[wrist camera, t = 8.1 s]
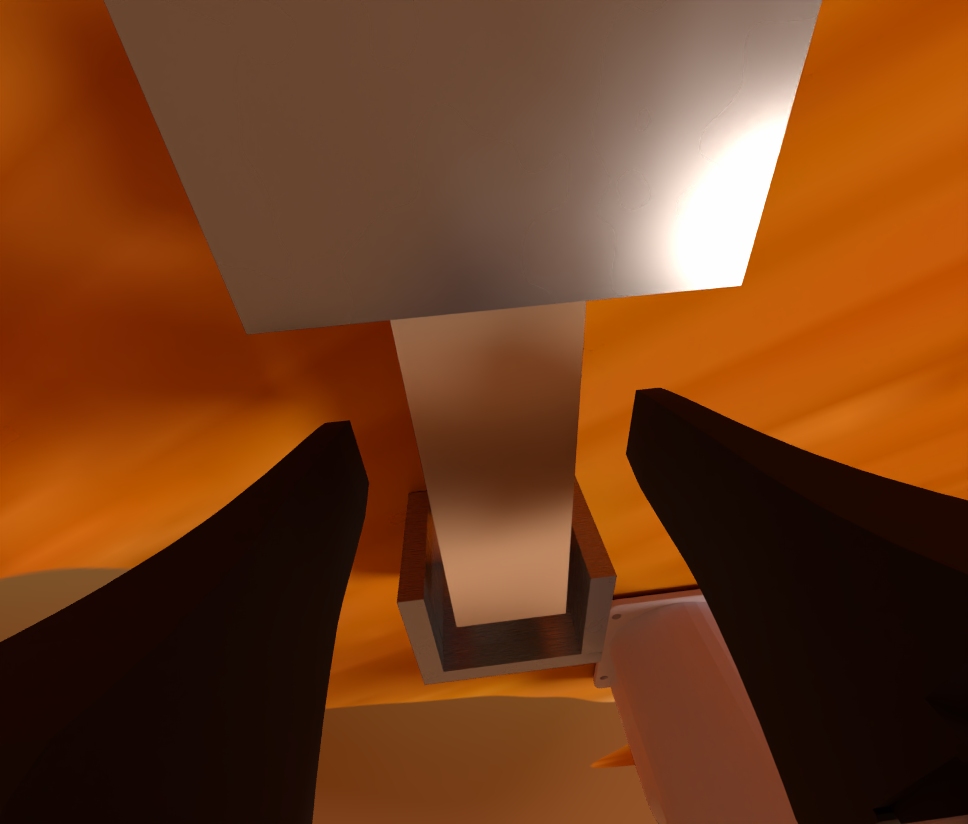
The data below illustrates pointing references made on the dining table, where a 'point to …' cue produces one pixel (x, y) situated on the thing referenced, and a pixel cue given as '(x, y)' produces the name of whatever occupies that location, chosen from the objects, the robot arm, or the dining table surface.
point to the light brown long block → (498, 450)
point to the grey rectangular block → (467, 146)
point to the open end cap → (507, 642)
